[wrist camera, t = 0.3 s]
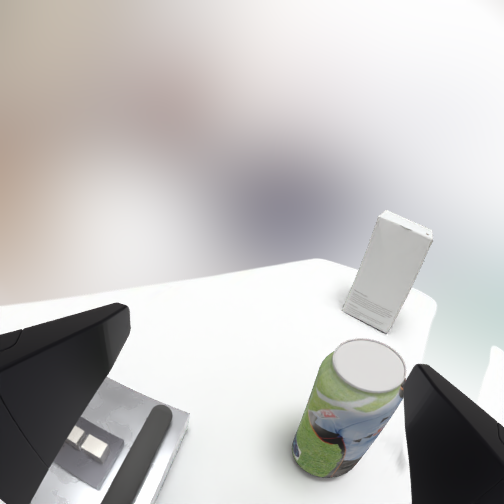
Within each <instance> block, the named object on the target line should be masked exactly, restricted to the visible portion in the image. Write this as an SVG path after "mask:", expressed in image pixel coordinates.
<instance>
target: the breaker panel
mask: <svg viewBox="0 0 504 504" xmlns="http://www.w3.org/2000/svg"><path fill="white" fill-rule="evenodd" d="M156 405H165V406H167V407H169V408H170V409H171V411H172V415H173V417H172V420H171V422H170V424H169V426H168V428H167V431H166V433H165V435H164V437H163V439H162V441H161V443H160V445H159V447H158V449H157V451H156V453H155V455H154V457H153V459H152V461H151V463H150V465H149V468H148V470H147V472H146V474H145V476H144V478H143V480H142V482H141V484H140V486H139V488H138V490H137V492H136V494H135V496H134V498H133V500H132V502H131V504H154V503H155V501H156V499H157V496H158V494H159V492H160V490H161V487H162V485H163V483H164V481H165V478H166V476H167V474H168V471H169V469H170V467H171V465H172V462H173V460H174V458H175V456H176V453H177V451H178V449H179V446H180V444H181V442H182V439H183V437H184V435H185V433H186V430H187V428H188V422H189V415H190V413H187V412H184V411H182V410H179V409H176V408H174V407H171V406H169V405H166V404H164V403H161V402H159V401H157V400H154V399H152V398H150V397H147V396H145V395H143V394H141V393H138V392H136V391H134V390H132V389H130V388H128V387H126V386H124V385H122V384H120V383H118V382H116V381H114V380H112V379H110V378H108V377H106V378H105V380H104V381H103V383H102V384H101V386H100V387H99V389H98V390H97V392H96V393H95V395H94V397H93V398H92V400H91V401H90V403H89V404H88V406H87V407H86V409H85V411H84V412H83V414H82V415H81V417H80V419H79V420H78V422H77V423H76V425H75V427H74V428H73V430H72V431H71V433H70V435H69V436H68V438H67V440H66V441H65V443H64V445H63V446H62V448H61V450H60V451H59V453H58V455H57V456H56V458H55V460H54V461H53V463H52V465H51V467H50V468H48V469H49V470H48V472H47V474H46V476H45V477H44V479H43V481H42V483H41V485H40V486H39V488H38V490H37V492H36V494H35V495H34V497H33V499H32V501H31V503H30V504H100V503H101V502H102V500H103V498H104V496H105V494H106V492H107V490H108V489H109V487H110V485H111V483H112V481H113V479H114V478H115V476H116V474H117V472H118V470H119V468H120V466H121V465H122V463H123V461H124V459H125V457H126V456H127V454H128V452H129V450H130V448H131V446H132V445H133V443H134V441H135V439H136V437H137V435H138V434H139V432H140V430H141V428H142V426H143V425H144V423H145V421H146V419H147V417H148V416H149V414H150V412H151V410H152V409H153V407H155V406H156Z"/></svg>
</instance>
